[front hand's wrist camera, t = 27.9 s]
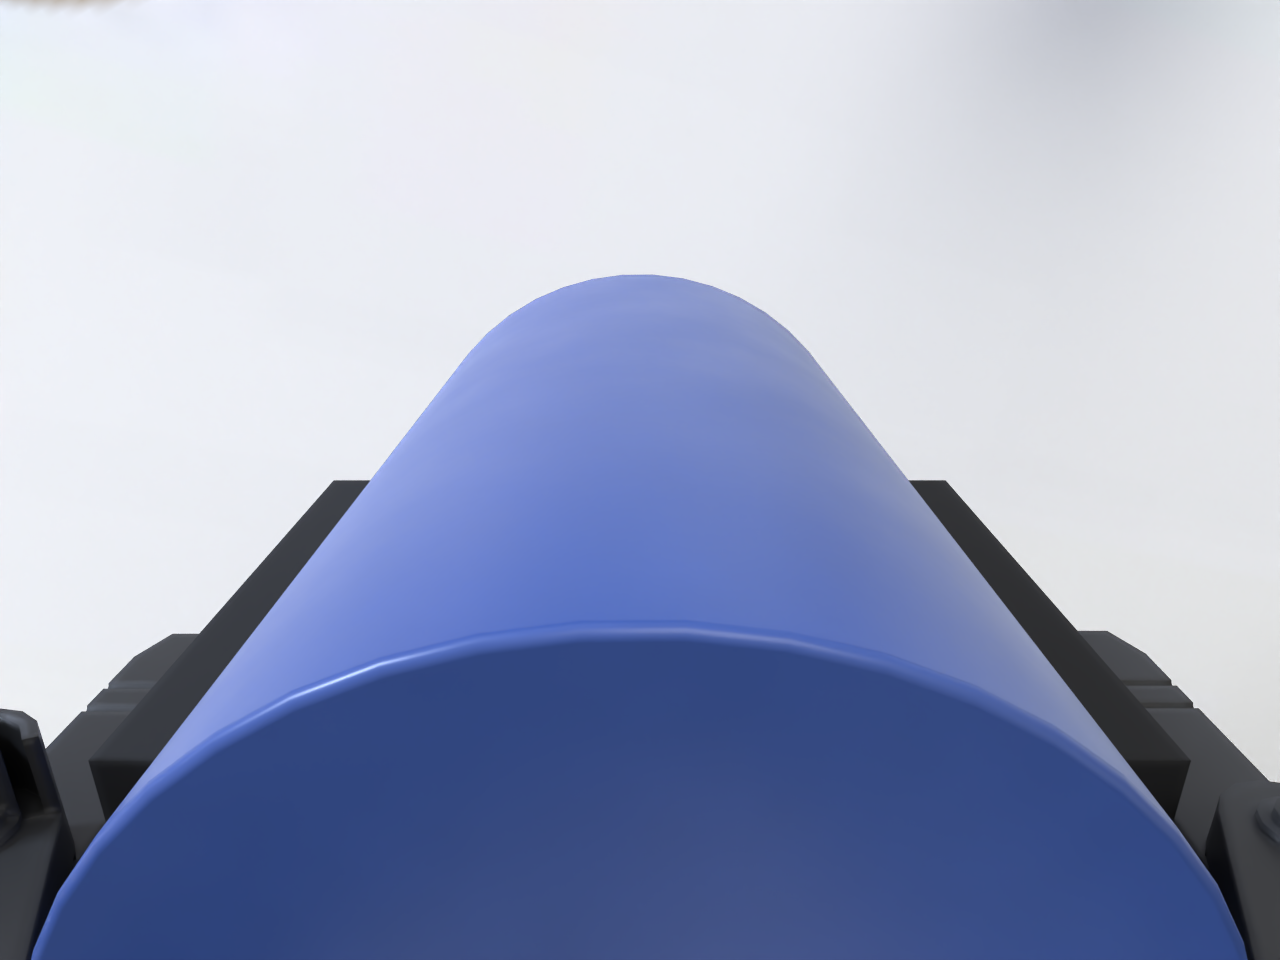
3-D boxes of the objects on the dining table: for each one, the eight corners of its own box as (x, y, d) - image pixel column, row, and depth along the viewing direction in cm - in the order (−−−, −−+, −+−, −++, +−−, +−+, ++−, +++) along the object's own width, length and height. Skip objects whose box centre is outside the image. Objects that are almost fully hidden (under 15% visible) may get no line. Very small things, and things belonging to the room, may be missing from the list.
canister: (727, 722, 18) (850, 1542, 8) (368, 576, 17) (-85, 1317, 6) (934, 393, 16) (1559, 944, 5) (527, 191, 15) (209, 357, 4)
